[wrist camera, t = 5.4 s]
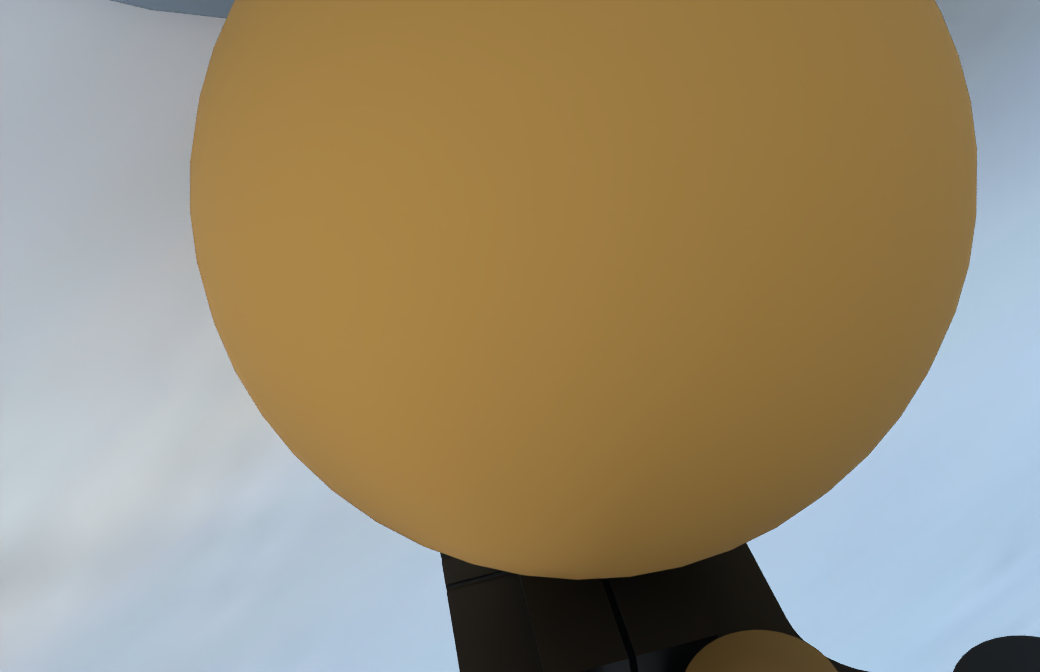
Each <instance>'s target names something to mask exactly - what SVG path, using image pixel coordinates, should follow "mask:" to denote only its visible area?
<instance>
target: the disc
mask: <svg viewBox="0 0 1040 672" xmlns="http://www.w3.org/2000/svg"><path fill="white" fill-rule="evenodd" d="M111 1H116V2H120V3H124V4H128V5H133V6H137V7H141V8H145V9H150V10H157V11H166V12H175V13H184V14H193V15H202V16H211V17H220V18H227V16H228V14H229V12H230V10H231V7H232V5H233V3H234V1H235V0H111Z"/></svg>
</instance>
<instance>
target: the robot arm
mask: <svg viewBox="0 0 1040 672" xmlns="http://www.w3.org/2000/svg"><path fill="white" fill-rule="evenodd" d="M440 554H441V558H442V566H443V572H444V578H445V584H446V588H447V596H448V602H449V608H450V614H451V620H452V627H453V633H454V639H455V645H456V651H457V657H458V663H459V669H460V672H868V671H863V670H858V669H854V668H851V667H848V666H845V665H843V664H840V663H838V662H836V661H834V660H831V659H829V658H827V657H826V656H824V655H823V654H822V653H821V652H820V651H819V650H817V649H816V648H814V647H813V646H811V645H810V644H808V643H807V642H805V641H804V640H803V639H802V638H801V637H800V636H799V635H798V634H797V633H796V632H795V630H794V629H793V628H792V626H791V625H790V623H789V622H788V620H787V618H786V616H785V615H784V613H783V611H782V609H781V607H780V605H779V603H778V601H777V600H776V598H775V596H774V594H773V592H772V590H771V588H770V587H769V585H768V583H767V581H766V579H765V577H764V575H763V573H762V572H761V570H760V568H759V566H758V564H757V562H756V560H755V558H754V557H753V555H752V553H751V551H750V549H749V547H748V545H747V544H746V543H744V544H742V545H740V546H738V547H736V548H734V549H732V550H730V551H727V552H724V553H721V554H718V555H715V556H712V557H709V558H706V559H703V560H700V561H697V562H695V563H692V564H689V565H686V566H683V567H678V568H673V569H668V570H663V571H657V572H652V573H647V574H642V575H637V576H631V577H617V578H598V579H579V580H576V579H563V578H551V577H539V576H526V575H520V574H516V573H511V572H507V571H502V570H498V569H493V568H488V567H484V566H479V565H475V564H471V563H468V562H465V561H463V560H460V559H457V558H454V557H452V556H449V555H446V554H443V553H441V552H440ZM953 672H1040V637H1033V636H1006V637H999V638H995V639H991V640H988V641H985V642H983V643H981V644H979V645H977V646H975V647H973V648H972V649H971V650H969V651H968V652H967V653H966V654H965V655H963V656H962V658H961V659H960V660H959V662H958V663H957V664H956V666H955V669H954V671H953Z"/></svg>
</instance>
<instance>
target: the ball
mask: <svg viewBox="0 0 1040 672" xmlns="http://www.w3.org/2000/svg"><path fill="white" fill-rule="evenodd" d="M976 184H977V147H976V139H975V131H974V123H973V115H972V107H971V101H970V97H969V93H968V89H967V86H966V82H965V78H964V74H963V70H962V66H961V63H960V59H959V55H958V53H957V50H956V48H955V45H954V43H953V41H952V38H951V36H950V33H949V31H948V28H947V26H946V23H945V21H944V18H943V16H942V13H941V11H940V9H939V7H938V6H937V4H936V2H935V0H235V1H234V3H233V5H232V7H231V10H230V12H229V14H228V16H227V19H226V21H225V23H224V26H223V28H222V30H221V32H220V35H219V37H218V39H217V42H216V44H215V46H214V49H213V52H212V56H211V59H210V63H209V66H208V70H207V73H206V77H205V80H204V84H203V87H202V91H201V94H200V99H199V105H198V111H197V118H196V125H195V132H194V139H193V146H192V153H191V160H190V214H191V222H192V229H193V236H194V244H195V251H196V258H197V264H198V267H199V271H200V275H201V278H202V282H203V285H204V289H205V292H206V296H207V300H208V303H209V307H210V310H211V314H212V317H213V320H214V323H215V326H216V328H217V331H218V333H219V335H220V338H221V340H222V342H223V344H224V347H225V349H226V351H227V354H228V356H229V358H230V361H231V363H232V365H233V367H234V370H235V372H236V373H237V375H238V377H239V378H240V380H241V382H242V383H243V385H244V387H245V388H246V390H247V391H248V393H249V395H250V396H251V398H252V400H253V401H254V403H255V405H256V406H257V408H258V410H259V411H260V413H261V414H262V416H263V417H264V418H265V419H266V421H267V422H268V423H269V424H270V426H271V427H272V428H273V429H274V430H275V432H276V433H277V434H278V435H279V437H280V438H281V439H282V440H283V442H284V443H285V444H286V445H287V446H288V448H289V449H290V450H291V451H292V453H293V454H294V455H295V456H296V457H297V458H298V459H299V460H300V461H301V462H302V463H304V464H305V465H306V466H307V467H308V468H309V469H310V470H311V471H312V472H313V473H314V474H315V475H316V476H317V477H318V478H320V479H321V480H322V481H323V482H324V483H325V484H326V485H327V486H328V487H329V488H330V489H331V490H332V491H334V492H335V493H337V494H338V495H339V496H341V497H342V498H344V499H345V500H346V501H348V502H349V503H351V504H352V505H353V506H355V507H356V508H358V509H359V510H360V511H362V512H363V513H365V514H366V515H367V516H369V517H370V518H372V519H373V520H375V521H376V522H378V523H380V524H382V525H384V526H386V527H388V528H389V529H391V530H393V531H395V532H397V533H399V534H401V535H403V536H405V537H407V538H408V539H410V540H412V541H414V542H416V543H418V544H420V545H422V546H424V547H427V548H430V549H432V550H435V551H438V552H441V553H443V554H446V555H449V556H452V557H454V558H457V559H460V560H463V561H465V562H468V563H471V564H475V565H479V566H484V567H488V568H493V569H498V570H502V571H507V572H511V573H516V574H520V575H526V576H539V577H551V578H563V579H576V580H579V579H598V578H617V577H631V576H637V575H642V574H647V573H652V572H657V571H663V570H668V569H673V568H678V567H683V566H686V565H689V564H692V563H695V562H697V561H700V560H703V559H706V558H709V557H712V556H715V555H718V554H721V553H724V552H727V551H730V550H732V549H734V548H736V547H738V546H740V545H742V544H744V543H746V542H748V541H750V540H752V539H754V538H756V537H758V536H760V535H762V534H764V533H766V532H768V531H770V530H772V529H775V528H777V527H778V526H779V525H781V524H782V523H784V522H785V521H787V520H788V519H790V518H791V517H793V516H794V515H796V514H797V513H799V512H800V511H801V510H803V509H804V508H806V507H807V506H809V505H810V504H812V503H813V502H815V501H816V500H818V499H819V498H820V497H822V496H823V495H824V494H826V493H827V492H828V491H830V490H831V489H832V488H833V487H834V486H835V485H836V484H837V483H838V482H840V481H841V480H842V479H843V478H844V477H845V476H846V475H847V474H848V473H849V472H851V471H852V470H853V469H854V468H855V467H856V466H857V465H858V464H859V463H860V462H862V461H863V460H864V459H865V458H866V457H867V456H868V455H869V454H870V453H871V452H872V450H873V449H874V448H875V447H876V446H877V444H878V443H879V442H880V441H881V440H882V438H883V437H884V436H885V435H886V434H887V432H888V431H889V430H890V429H891V428H892V426H893V425H894V424H895V423H896V422H897V420H898V419H899V418H900V417H901V415H902V414H903V412H904V410H905V409H906V407H907V406H908V404H909V402H910V401H911V399H912V398H913V396H914V394H915V393H916V391H917V390H918V388H919V386H920V385H921V383H922V382H923V380H924V378H925V377H926V375H927V373H928V371H929V369H930V367H931V365H932V363H933V361H934V359H935V357H936V355H937V352H938V350H939V348H940V346H941V343H942V341H943V339H944V337H945V334H946V332H947V330H948V328H949V325H950V323H951V321H952V319H953V316H954V314H955V312H956V308H957V305H958V301H959V298H960V294H961V291H962V287H963V284H964V280H965V277H966V274H967V270H968V267H969V262H970V255H971V248H972V241H973V234H974V227H975V220H976Z"/></svg>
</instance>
